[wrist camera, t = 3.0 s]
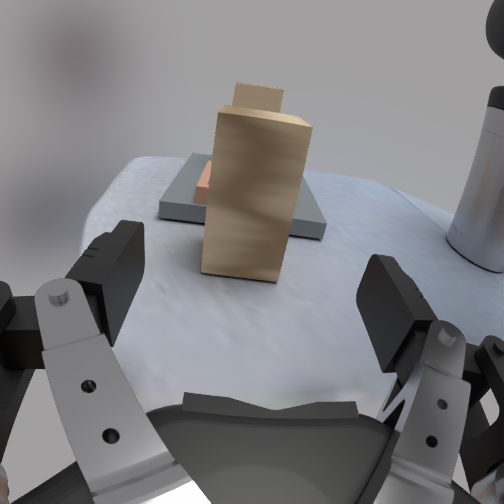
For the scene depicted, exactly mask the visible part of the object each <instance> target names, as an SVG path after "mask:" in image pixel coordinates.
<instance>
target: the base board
mask: <svg viewBox="0 0 504 504" xmlns="http://www.w3.org/2000/svg"><path fill="white" fill-rule="evenodd" d="M282 95H283V90H282V89H278V88H272V87H266V86H260V85H253V84H245V83H238V82H237V83H236V85H235V92H234V98H233V104H232V106H236V107H243V108H250V109H257V110H264V111H270V112H276V113H279V112H280V107H281V101H282ZM211 164H212V155H206V154H195V153H193V154H192V155H191V156H190V158H189V159H188V161H187V162H186V163H185V165H184V166H183V168H182V169H181V170H180V172H179V173H178V175H177V176H176V178H175V179H174V180H173V182H172V183H171V185H170V186H169V188H168V189H167V191H166V192H165V194H164V195H163V197H162V198H161V200H160V203H159V218H167V219H176V220H184V221H192V222H200V223H205V219H206V209H207V199H208V190H209V181H210V172H211ZM326 225H327V223H326V221H325V219H324V217H323V215H322V213H321V211H320V209H319V207H318V205H317V203H316V201H315V199H314V197H313V195H312V193H311V191H310V189H309V187H308V185H307V183H306V181H305V179H304V177H303V176H302V180H301V184H300V189H299V193H298V198H297V202H296V207H295V211H294V215H293V220H292V224H291V228H290V233H289V234H290V235H297V236H304V237H311V238H318V239H323V235H324V232H325V228H326Z"/></svg>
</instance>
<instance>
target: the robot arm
mask: <svg viewBox="0 0 504 504" xmlns="http://www.w3.org/2000/svg"><path fill="white" fill-rule="evenodd" d="M486 37H487V41H488V43H489V45H490V47H491V49H492V50H493V51H494V52H495V53H496V54H497V55H498V56H500V57H501V58H502V59H504V0H494V2H493V4H492V6H491V8H490V10H489V13H488V16H487V21H486ZM447 240H448V242H449V243H450V244H451V245H452V246H453V247H454V248H455V249H456V250H457V251H458V252H459V253H460V254H462V255H463V256H465V257H466V258H467V259H469V260H471V261H472V262H474V263H475V264H477V265H479V266H481V267H483V268H486V269H488V270H491V271H495V272H502V271H504V86H498V87H494V88H493V89H492V90H491V93H490V96H489V101H488V105H487V110H486V114H485V119H484V123H483V127H482V131H481V135H480V140H479V143H478V146H477V150H476V154H475V157H474V161H473V164H472V167H471V170H470V173H469V176H468V180H467V182H466V185H465V188H464V191H463V194H462V197H461V200H460V203H459V205H458V208H457V211H456V213H455V216H454V219H453V221H452V224H451V226H450V229H449V231H448V234H447ZM144 267H145V250H144V224H143V223H142V222H136V221H128V220H121V221H120V222H119V223H118V225H117V226H116V227H115V229H114V230H113V231H112V232H111V233H108V232H105V233H103V234H102V235H100V236H98V237H97V238H95V239H94V240H93V241H92V242H91V244H90V245H89V246H88V249H86V250H85V251H84V253H83V254H82V256H80V258H79V259H78V260H77V262H76V263H75V264H74V266H73V267H72V268H71V270H70V271H69V272H68V274H67V275H66V277H65V278H60V279H54V280H51V281H49V282H47V283H45V284H43V285H42V286H41V287H40V288H39V289H38V290H37V292H36V294H35V296H20V297H19V296H18V297H13V295H12V292H11V289H10V287H9V285H8V284H7V283H5V282H2V281H0V504H9V501H8V495H9V488H8V480H7V476H6V472H5V470H4V468H3V466H2V465H1V462H2V458H3V455H4V452H5V448H6V445H7V442H8V439H9V436H10V433H11V430H12V427H13V424H14V421H15V419H16V416H17V413H18V411H19V408H20V405H21V403H22V400H23V398H24V395H25V393H26V390H27V387H28V385H29V383H30V380H31V378H32V376H33V373H34V371H35V369H46V373H47V376H48V380H49V384H50V387H51V390H52V394H53V397H54V400H55V403H56V407H57V410H58V413H59V416H60V419H61V421H62V424H63V427H64V430H65V432H66V435H67V438H68V440H69V443H70V445H71V448H72V450H73V453H74V455H75V457H76V460H77V461H75V462H74V463H72V464H71V465H69V466H68V467H67V468H65V469H63V470H62V471H61V472H59V473H58V474H56V475H55V476H53V477H52V478H50V479H49V480H47V481H46V482H44V483H42V484H41V485H39V486H38V487H36V488H35V489H33V490H31V491H30V492H28V493H27V494H25V495H24V496H22V497H20V498H18V499H17V500H15V501H14V502H12V503H11V504H504V341H502V340H501V339H499V338H498V337H495V336H491V335H489V336H486V337H485V338H484V340H483V341H482V343H481V344H480V345H479V346H476V345H472V344H469V343H466V339H465V337H464V335H463V334H462V332H461V331H460V330H459V329H458V328H457V327H456V326H454V325H453V324H451V323H449V322H446V321H443V320H438V319H437V317H436V315H435V314H434V312H433V311H432V309H431V307H430V306H429V304H428V303H427V301H426V299H425V298H423V297H424V296H423V295H422V293H421V292H420V291H419V289H418V287H417V285H416V284H415V282H414V281H413V280H412V279H411V278H410V277H409V276H408V275H407V274H406V273H404V272H403V270H402V269H401V267H400V266H399V264H398V263H397V261H396V260H395V259H394V257H391V256H385V255H378V254H373V255H372V256H371V258H370V259H369V262H368V264H367V267H366V270H365V272H364V275H363V277H362V280H361V282H360V285H359V287H358V290H357V295H356V303H357V307H358V309H359V312H360V314H361V317H362V319H363V322H364V324H365V327H366V329H367V332H368V335H369V337H370V340H371V342H372V345H373V348H374V351H375V353H376V356H377V359H378V361H379V364H380V367H381V370H382V373H393V372H396V373H397V377H396V378H395V379H394V381H393V383H392V385H391V387H390V389H389V392H388V394H387V396H386V398H385V400H384V402H383V405H382V407H381V409H380V411H379V413H378V415H377V417H376V419H374V418H371V417H369V416H366V415H363V414H358V410H357V406H356V402H355V401H350V402H315V403H310V404H306V405H301V406H296V407H292V408H287V409H281V410H271V409H267V408H263V407H259V406H256V405H252V404H249V403H245V402H242V401H239V400H235V399H232V398H229V397H220V396H211V395H202V394H195V393H187V392H184V397H183V404H179V405H171V406H166V407H162V408H158V409H155V410H152V411H149V412H147V413H145V412H144V410H143V409H142V407H141V405H140V403H139V401H138V400H137V398H136V396H135V394H134V392H133V391H132V389H131V387H130V385H129V383H128V381H127V379H126V377H125V375H124V373H123V371H122V369H121V367H120V365H119V363H118V361H117V359H116V357H115V355H114V353H113V351H112V349H111V347H113V346H114V344H115V341H116V339H117V336H118V334H119V332H120V329H121V327H122V324H123V322H124V319H125V317H126V315H127V312H128V310H129V308H130V305H131V303H132V301H133V298H134V296H135V294H136V292H137V289H138V287H139V285H140V283H141V280H142V278H143V274H144ZM490 388H491V389H492V392H493V394H494V396H495V398H496V400H497V403H498V405H499V410H500V411H499V416H498V418H497V420H496V421H495V422H494V423H493V424H492V425H491V426H490V425H489V423H488V420H487V418H486V415H485V413H484V410H483V408H482V405H481V403H480V401H479V400H480V399H481V398H482V397H483V396H484V395H485V394H486V392H487V391H488V390H489V389H490ZM458 453H460V457H461V460H462V464H463V467H464V471H465V475H466V479H467V482H468V486H469V490H470V494H469V493H468V492H466V491H465V490H464V489H463V488H462V487H460V486H459V485H458V484H457V483H455V482H454V481H453V480H452V476H453V472H454V468H455V465H456V461H457V457H458Z"/></svg>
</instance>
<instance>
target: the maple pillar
mask: <svg viewBox="0 0 504 504" xmlns="http://www.w3.org/2000/svg"><path fill="white" fill-rule="evenodd" d="M312 129H313V127H312V126H310V125H309V124H308V123H306V122H305V121H304V120H302V119H301V118H300V117H298V116H292V115H287V114H281V113H276V112H270V111H264V110H257V109H250V108H243V107H236V106H228V105H225V106H224V107H223V108H222V109H221V110H220V111H219V112H218V117H217V125H216V132H215V139H214V148H213V155H212V164H211V172H210V181H209V190H208V199H207V209H206V219H205V229H204V240H203V251H202V263H201V272H202V273H209V274H217V275H225V276H233V277H241V278H249V279H257V280H266V281H274V282H278V278H279V274H280V270H281V266H282V262H283V258H284V254H285V249H286V245H287V241H288V237H289V233H290V228H291V224H292V220H293V215H294V211H295V207H296V202H297V198H298V193H299V189H300V184H301V180H302V175H303V171H304V166H305V162H306V157H307V152H308V148H309V143H310V138H311V133H312Z"/></svg>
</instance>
